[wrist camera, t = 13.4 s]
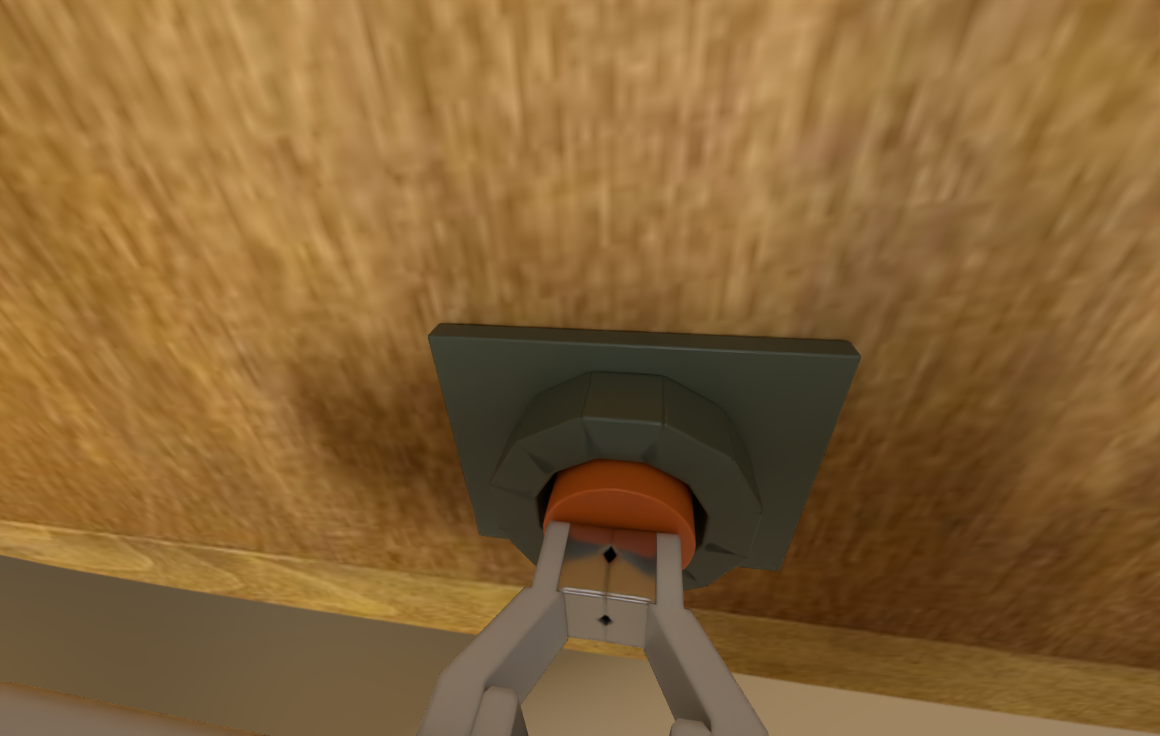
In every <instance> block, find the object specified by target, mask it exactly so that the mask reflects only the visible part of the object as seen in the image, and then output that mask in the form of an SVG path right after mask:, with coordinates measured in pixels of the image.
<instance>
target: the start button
mask: <svg viewBox="0 0 1160 736" xmlns="http://www.w3.org/2000/svg"><path fill="white" fill-rule="evenodd" d="M550 520H553V521H562V522H571V523H577V524H585V525H593V526H601V527H609V528H613V527H615V528H625V529H636V530H647V531H656V533H657V532H659V533H670V534H679V537H680V541H681V561H682V570H683V569H684V568H686V566H687V565H688V564H689V563H690V561H691V559H692V558H693V555H694V552H695V547H696V539H695V526H694V514H693V501H692V490H691V488H690V487H689V485H688V484H686V483H685V482H683V481H681V480H679V479H677V478H675V477H673V476H671V475H669V474H667V473H665V472H663V471H661V470H659V469H657V468H655V467H653V466H651V465H649V464H648V463H643V462H632V461H621V460H609V459H598V458H597V459H594V460H591V461H588V462H585V463H582V464H579V465H576V466H573V467H570V468H567V469H564V470H561V471H558V472H557V474H556V478H555V481H554V485H553V489H552V492H551V496H550V500H549V504H548V507H547V511H546V515H545V518H544V523H543V532H544V536H545V532H546V528H547V526H548V524H549V522H550Z"/></svg>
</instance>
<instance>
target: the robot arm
mask: <svg viewBox="0 0 1160 736" xmlns="http://www.w3.org/2000/svg"><path fill="white" fill-rule="evenodd" d="M568 637H572V638H580V639H588V640H597V641H605V642H611V643H616V644H622V645H627V646H633V647H638V648H644V652H645V654H646V656H647V658H648V661H649V663H650V665H651V667H652V670H653V672H654V674H655V676H656V679H657V681H658V683H659V685H660V687H661V690H662V692H663V694H664V696H665V699H666V701H667V703H668V705H669V708H670V710H671V712H672V714H673V717H674V719H675V723H674V724H673V725H672V726H671V731H670V735H669V736H768V731H767V730H766V728H765V726H764V725H763V723H762V722H761V720H760V718H759V717H758V715H757V714H756V712H755V711H754V709H753V707H752V706H751V704H750V703H749V701H748V699H747V698H746V696H745V695H744V693H743V691H742V690H741V688H740V687H739V685H738V684H737V682H736V680H735V679H734V677H733V676H732V674H731V672H730V671H729V669H728V668H727V666H726V664H725V663H724V661H723V660H722V658H721V657H720V655H719V653H718V652H717V650H716V649H715V647H714V645H713V644H712V642H711V641H710V639H709V637H708V636H707V634H706V633H705V631H704V630H703V628H702V626H701V625H700V623H699V622H698V620H697V618H696V617H695V615H694V614H693V612H692V610H690V609H685V608H684V601H683V581H682V561H681V541H680V537H679V534H670V533H659V532H657V533H656V531H647V530H636V529H625V528H615V527H613V528H609V527H601V526H593V525H585V524H577V523H571V522H562V521H553V520H550V522H549V524H548V526H547V528H546V532H545V536H544V540H543V544H542V548H541V551H540V555H539V559H538V563H537V567H536V571H535V575H534V578H533V582H532V586H531V588H530V587H524V588H523V589H522V590H521V591H520V592H519V593H518V594H517V595H516V596H515V597H514V598H513V599H512V601H511V602H510V603H509V604H508V605H507V606H506V607H505V608H504V609H503V610H502V611H501V612H500V613H499V614H498V615H497V616H496V617H495V618H494V619H493V620H492V621H491V622H490V623H489V624H488V625H487V626H486V627H485V628H484V629H483V630H482V631H481V632H480V633H479V634H478V635H477V636H476V637H475V638H474V639H473V640H472V641H471V643H469V644H468V645H467V646H466V647H465V648H464V649H463V650H462V651H461V652H460V654H459V655H458V656H457V657H456V658H455V659H454V660H453V661H452V662H451V663H450V664H449V665H448V666H447V667H446V668H445V669H444V670H443V671H442V672H441V673H440V674H439V677H438V679H437V682H436V685H435V687H434V690H433V692H432V695H431V698H430V700H429V703H428V706H427V708H426V711H425V713H424V716H423V719H422V721H421V724H420V726H419V729H418V732H417V734H416V736H528V732H527V729H526V725H525V721H524V718H523V714H522V710H521V704H522V703H523V701H524V700H525V699H526V697H527V696H528V694H529V693H530V691H531V690H532V689H533V688H534V686H535V685H536V683H537V682H538V680H539V679H540V678H541V676H542V675H543V674H544V672H545V671H546V669H547V668H548V667H549V665H550V664H551V662H552V661H553V660H554V658H555V657H556V656H557V654H558V653H559V651H560V650H561V649H562V647H563V646H564V645H565V643H566V642H567V640H568ZM0 736H268V735H263V734H259V733H254V732H249V731H244V730H239V729H235V728H230V727H225V726H220V725H215V724H211V723H206V722H201V721H196V720H191V719H187V718H182V717H177V716H172V715H168V714H163V713H158V712H153V711H148V710H143V709H139V708H133V707H129V706H124V705H120V704H115V703H110V702H105V701H100V700H95V699H91V698H86V697H81V696H76V695H71V694H67V693H62V692H57V691H52V690H47V689H43V688H38V687H34V686H29V685H24V684H19V683H13V682H0Z"/></svg>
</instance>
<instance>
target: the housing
mask: <svg viewBox="0 0 1160 736" xmlns="http://www.w3.org/2000/svg"><path fill="white" fill-rule="evenodd" d="M428 340H429V344H430V348H431V352H432V355H433V359H434V363H435V367H436V371H437V374H438V378H439V382H440V386H441V390H442V394H443V397H444V401H445V405H446V409H447V413H448V416H449V420H450V424H451V428H452V432H453V436H454V439H455V443H456V447H457V451H458V455H459V458H460V462H461V466H462V470H463V474H464V478H465V481H466V485H467V489H468V493H469V497H470V500H471V504H472V508H473V512H474V516H475V520H476V523H477V527H478V531H479V535H481V536H489V537H497V538H506V539H509V540H510V541H511V542H512V543H513V544H514V545H515V546H516V547H517V548H518V549H519V550H520V551H521V552H522V553H523V554H524V555H525V556H526V557H527V558H528V559H529V560H530V561H531V562H532V563H533V564H534V565H536V566H537V563H538V559H539V555H540V551H541V548H542V544H543V540H544V532H543V523H544V518H545V515H546V511H547V507H548V504H549V500H550V496H551V492H552V489H553V485H554V481H555V478H556V474H557V472H558V471H561V470H564V469H567V468H570V467H573V466H576V465H579V464H582V463H585V462H588V461H591V460H594V459H597V458H598V459H609V460H621V461H632V462H643V463H648V464H649V465H651V466H653V467H655V468H657V469H659V470H661V471H663V472H665V473H667V474H669V475H671V476H673V477H675V478H677V479H679V480H681V481H683V482H685V483H686V484H688V485H689V487H690V488H691V490H692V501H693V514H694V526H695V539H696V547H695V552H694V555H693V558H692V559H691V561H690V563H689V564H688V565H687V566H686V568H684V569H683V570H682V581H683V591H684V590H690V589H696V588H702V587H704V586H708V585H710V584H711V583H713V582H714V581H716V580H717V579H719V578H720V577H722V576H723V575H725V574H726V573H728V572H729V571H731V570H732V569H734V568H735V567H745V568H753V569H761V570H770V571H780V569H781V566H782V564H783V561H784V559H785V556H786V553H787V551H788V548H789V545H790V543H791V540H792V538H793V535H794V532H795V530H796V527H797V524H798V522H799V519H800V517H801V514H802V511H803V509H804V506H805V503H806V501H807V498H808V496H809V493H810V490H811V488H812V485H813V482H814V480H815V477H816V475H817V472H818V469H819V467H820V464H821V462H822V459H823V456H824V454H825V451H826V448H827V446H828V443H829V441H830V438H831V435H832V433H833V430H834V427H835V425H836V422H837V420H838V417H839V414H840V412H841V409H842V406H843V404H844V401H845V399H846V396H847V393H848V391H849V388H850V385H851V383H852V380H853V378H854V375H855V372H856V370H857V367H858V364H859V362H860V359H861V355H860V354H859V353H858V351H857V350H856V349H855V347H854V346H853V345H852V343H851V342H848V341H827V340H803V339H780V338H757V337H733V336H710V335H687V334H663V333H640V332H617V331H593V330H570V329H547V328H523V327H500V326H477V325H453V324H439V325H437V326H436V327H435V328H434V329H433V330H432V332H431V333H430V334H429V335H428Z"/></svg>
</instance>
